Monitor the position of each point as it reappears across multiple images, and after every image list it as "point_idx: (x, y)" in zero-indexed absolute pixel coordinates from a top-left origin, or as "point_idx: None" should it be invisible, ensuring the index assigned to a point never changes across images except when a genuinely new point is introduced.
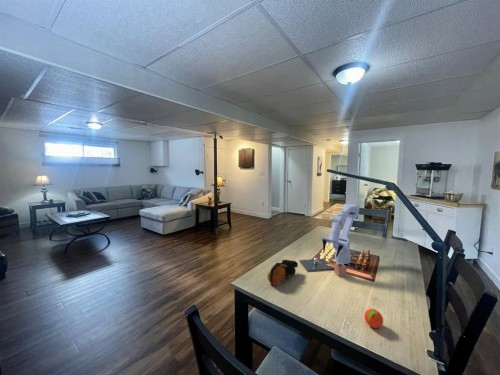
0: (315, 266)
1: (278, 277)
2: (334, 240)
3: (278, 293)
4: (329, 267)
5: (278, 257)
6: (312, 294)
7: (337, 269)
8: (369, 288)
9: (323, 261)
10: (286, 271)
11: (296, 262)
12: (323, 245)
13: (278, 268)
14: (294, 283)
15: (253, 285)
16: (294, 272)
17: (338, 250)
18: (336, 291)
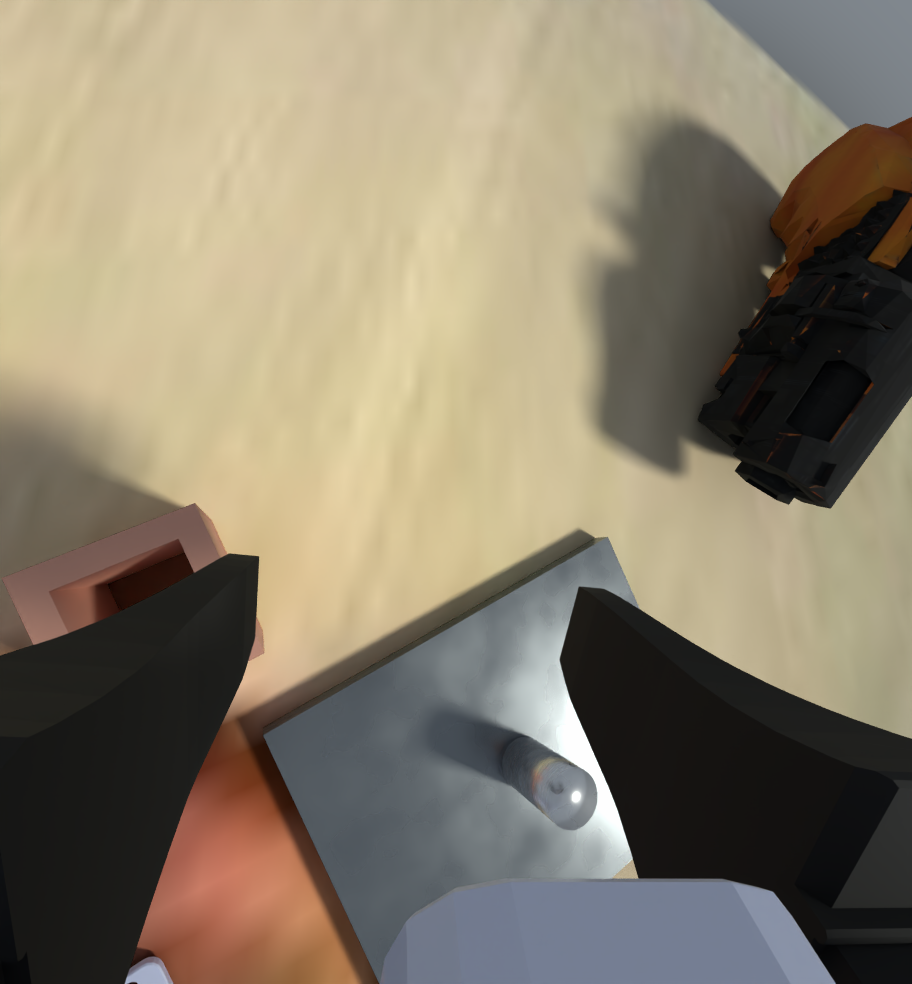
0: (524, 676)
1: (841, 154)
2: (541, 921)
3: (738, 127)
4: (330, 732)
5: None
6: (516, 116)
7: (220, 549)
8: None
9: None
10: (817, 269)
11: (797, 456)
12: (763, 685)
13: None
14: (668, 273)
15: None
16: (719, 401)
17: (143, 638)
18: (284, 169)
